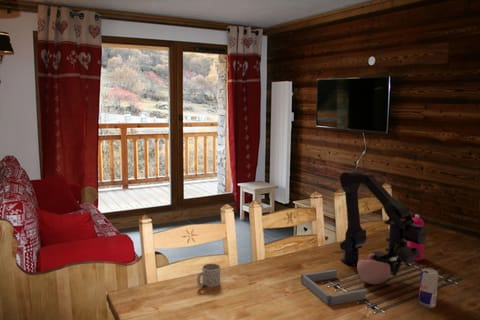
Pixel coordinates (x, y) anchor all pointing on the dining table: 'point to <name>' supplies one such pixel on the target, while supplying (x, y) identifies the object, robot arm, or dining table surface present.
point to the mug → (210, 275)
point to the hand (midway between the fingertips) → (394, 275)
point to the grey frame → (324, 296)
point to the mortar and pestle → (373, 270)
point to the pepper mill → (410, 244)
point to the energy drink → (428, 287)
